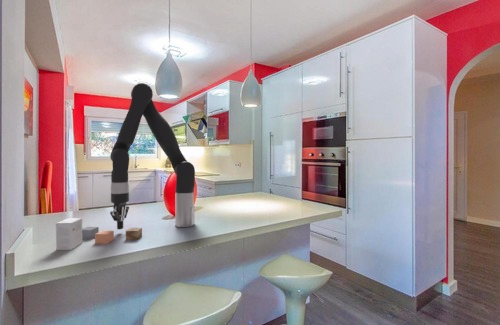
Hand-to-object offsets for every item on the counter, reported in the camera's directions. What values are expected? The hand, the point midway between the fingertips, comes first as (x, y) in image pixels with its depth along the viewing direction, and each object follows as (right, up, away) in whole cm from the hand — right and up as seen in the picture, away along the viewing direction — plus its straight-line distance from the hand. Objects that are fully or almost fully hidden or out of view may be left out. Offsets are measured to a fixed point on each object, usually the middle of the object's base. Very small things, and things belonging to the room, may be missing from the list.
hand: (120, 228), depth 121 cm
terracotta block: (-1, -2, -12) cm, 12 cm away
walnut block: (+9, -2, -7) cm, 12 cm away
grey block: (-10, -2, -6) cm, 12 cm away
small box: (-11, -3, -18) cm, 21 cm away
